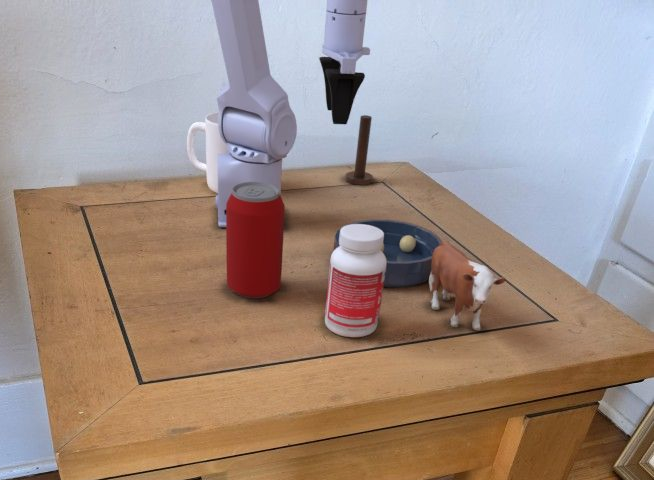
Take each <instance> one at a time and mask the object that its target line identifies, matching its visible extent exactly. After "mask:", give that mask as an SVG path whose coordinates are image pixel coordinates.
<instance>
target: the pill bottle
mask: <svg viewBox="0 0 654 480" xmlns="http://www.w3.org/2000/svg"><path fill="white" fill-rule="evenodd" d="M345 225H346V224H345ZM343 226H344V225H343ZM343 226H341V227H342V228H341V227H340V228H341V230H340V237H339V245H340V246H339V247H338V248H336V249H335V250H334V251H333V250H332V253H331V255H330V259H329V260H330V261H329V271H328V280H327V291H326V302H325V311H324V324H325V326H326V327H327V329H328V330H329V331H331V332H332V333H333V334H336V335H337V336H341V337H346V338H362V337H366V336H369V335H372V333H374V332H375V331H376V329H377V327H378V323H379V317H380V311H381V306H382V305H381V304H382V299H383V291H384V287H383V285H384V278H385V272H386V264H387V261H386V257H385V255H384V254H383V252H382V251H381V250H380V249H381V248H382V246H383V240H384V233H383V231H382V230H380V229H379V228H377V227H374V226H370V225H365V224H351V225H346V226H344V227H343Z"/></svg>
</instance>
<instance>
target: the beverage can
mask: <svg viewBox="0 0 654 480" xmlns="http://www.w3.org/2000/svg"><path fill="white" fill-rule="evenodd" d="M284 230H285V202H284V201H283V197H282V195H281V196H280V194H279V189H278V188H277V187H276V186H274V185H271V184H268V183H263V182H244V183H240V184H237V185H235V186H234V187H233V189H232V193H231V195H230V197H229V199H228V201H227V203H226V227H225V236H226V237H225V239H226V243H225V244H226V245H225V246H226V247H225V249H226V250H225V251H226V254H225V255H226V256H225V257H226V284H227V287H228V288H229V289H230V290H231V291H233V292H234V293H236V294H237V295H238V296H241V297H244V298H247V299H248V298H249V299H260V298H266V297H269V296H271V294H274V293H275V292H277V291H278V290H279V289H280V287H281V285H282V284H281V283H282V272H283V271H282V270H283V269H282V268H283V253H284Z"/></svg>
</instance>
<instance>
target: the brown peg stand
mask: <svg viewBox="0 0 654 480" xmlns="http://www.w3.org/2000/svg"><path fill="white" fill-rule="evenodd" d="M372 119H373V117H372V116H371V115H367V114H364V115H360V118H359V125H358V126H359V128H358V137H357V144H356V145H357V146H356V153H355V163H354V170H353V171H348V172H347V173H345V181H346V182H347V183H349V184H352V185H356V186H366V185H370V184H372V183H373V180H374V176H373V174H371V173H369V172H366V168H367V162H368V161H367V159H368V151H369V143H370V137H371V136H370V135H371V127H372Z"/></svg>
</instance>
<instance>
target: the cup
mask: <svg viewBox="0 0 654 480" xmlns="http://www.w3.org/2000/svg"><path fill="white" fill-rule="evenodd" d="M204 118H205V119H204V121H203V122H202V121H196V122H194V123H192V124H191V125H190V126H189V128H188V131H187V138H186V150H187V156H188V159H189V162H190V163H191V164H192V166H193V167H194V168H195V169H196V170H198V171H201V172H204V173H206V183H207V186H208V188H209V190H210V191H212V192H214V193H216V194H218V154H227V153H229V152H227V144H226V143H225V142H224V141H223V140H222V138H221V136H220V133H219V127H218V121H219V111H214V112H211V113H207V115H205V117H204ZM197 131H200V132H203V133H205V162H201V161H200V160H199V159H198V158H197V156H196V154H195V146H194V143H195V135H196V133H197Z"/></svg>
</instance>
